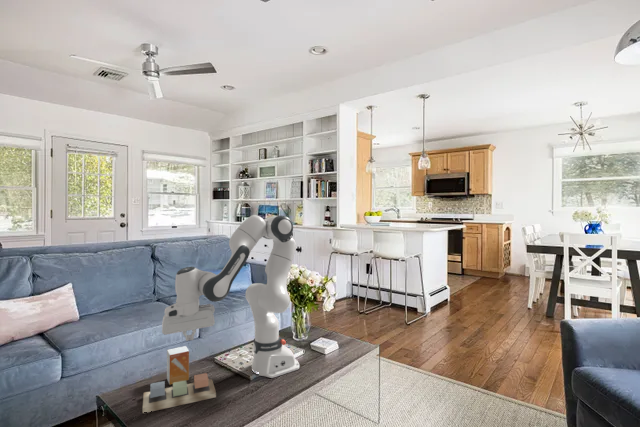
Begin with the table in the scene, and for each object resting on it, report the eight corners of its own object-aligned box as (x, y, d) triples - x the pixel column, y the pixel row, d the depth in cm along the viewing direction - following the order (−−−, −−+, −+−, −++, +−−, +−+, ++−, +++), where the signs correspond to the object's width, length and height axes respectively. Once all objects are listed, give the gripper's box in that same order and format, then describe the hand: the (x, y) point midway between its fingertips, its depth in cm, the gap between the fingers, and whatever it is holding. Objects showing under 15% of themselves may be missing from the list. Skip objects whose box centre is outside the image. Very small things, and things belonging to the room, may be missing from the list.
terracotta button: (206, 380, 144) (206, 372, 144) (208, 385, 139) (208, 378, 139) (194, 382, 142) (194, 375, 141) (195, 388, 137) (195, 381, 137)
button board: (211, 383, 148) (212, 378, 148) (215, 397, 138) (215, 391, 138) (143, 397, 137) (143, 392, 136) (142, 413, 127) (142, 407, 127)
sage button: (186, 387, 140) (186, 380, 140) (187, 393, 136) (187, 386, 136) (172, 390, 138) (172, 382, 138) (173, 396, 134) (173, 389, 134)
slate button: (164, 388, 137) (164, 381, 137) (164, 395, 132) (164, 387, 132) (150, 391, 135) (150, 383, 135) (150, 398, 130) (150, 390, 130)
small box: (169, 385, 146) (169, 355, 145) (166, 378, 151) (166, 349, 151) (189, 380, 150) (189, 350, 150) (186, 373, 156) (186, 345, 155)
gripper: (213, 300, 149) (214, 332, 150) (160, 309, 140) (162, 342, 141) (215, 305, 143) (216, 337, 144) (161, 314, 134) (163, 348, 135)
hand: (189, 340), depth 142 cm, fingers closed
